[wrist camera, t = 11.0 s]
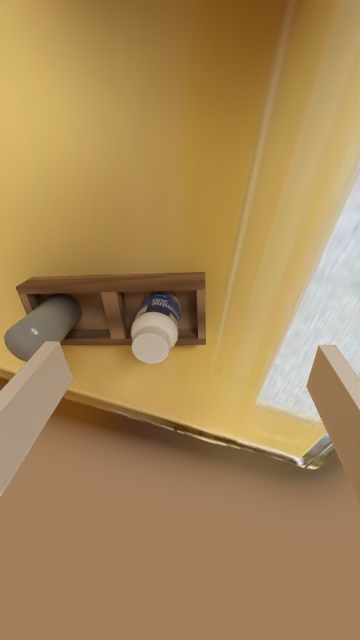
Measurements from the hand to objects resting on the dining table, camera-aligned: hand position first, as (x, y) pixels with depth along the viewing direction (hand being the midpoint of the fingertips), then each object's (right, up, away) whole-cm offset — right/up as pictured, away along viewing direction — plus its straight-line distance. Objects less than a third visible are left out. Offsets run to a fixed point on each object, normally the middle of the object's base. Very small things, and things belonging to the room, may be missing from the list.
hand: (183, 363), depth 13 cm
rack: (-9, +4, +23) cm, 25 cm away
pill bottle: (-3, +4, +22) cm, 22 cm away
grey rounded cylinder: (-17, +4, +23) cm, 29 cm away
